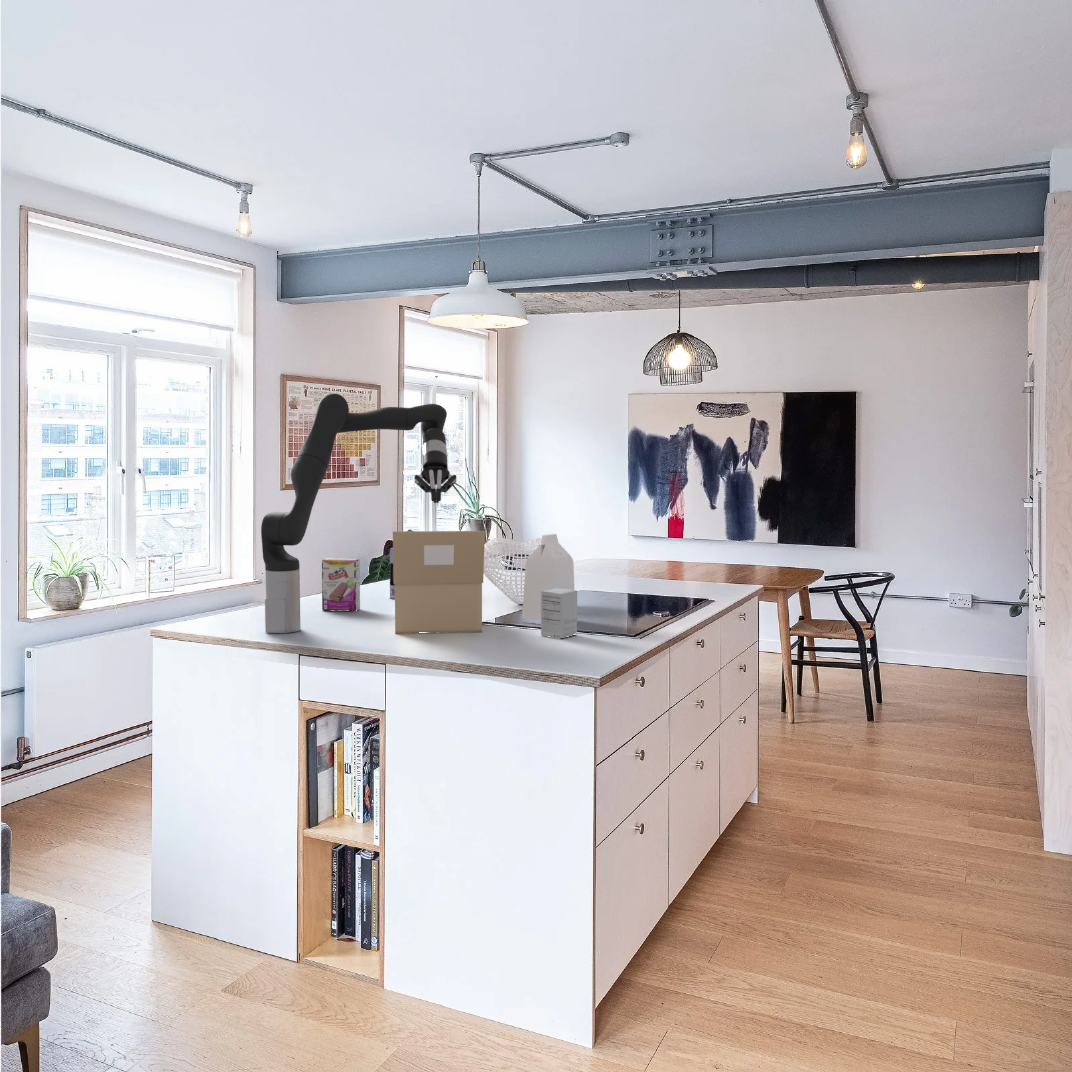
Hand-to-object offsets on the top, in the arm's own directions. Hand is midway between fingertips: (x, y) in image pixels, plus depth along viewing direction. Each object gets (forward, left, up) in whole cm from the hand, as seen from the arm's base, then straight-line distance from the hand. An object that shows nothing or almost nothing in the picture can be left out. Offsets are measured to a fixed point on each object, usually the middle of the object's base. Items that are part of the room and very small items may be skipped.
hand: (436, 501), depth 276 cm
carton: (-7, -3, -36) cm, 37 cm away
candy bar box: (+13, +37, -36) cm, 54 cm away
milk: (+12, -31, -36) cm, 49 cm away
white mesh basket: (+39, -15, -36) cm, 55 cm away
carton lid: (-17, -7, -14) cm, 23 cm away
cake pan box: (+47, +28, -36) cm, 66 cm away
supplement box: (-9, -39, -36) cm, 54 cm away
